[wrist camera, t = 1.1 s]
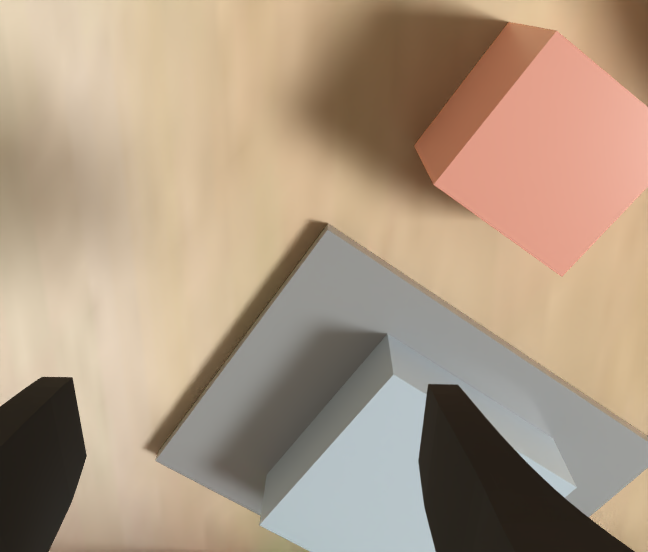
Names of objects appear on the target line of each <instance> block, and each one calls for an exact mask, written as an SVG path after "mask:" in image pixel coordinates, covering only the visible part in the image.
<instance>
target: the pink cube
mask: <svg viewBox="0 0 648 552" xmlns="http://www.w3.org/2000/svg"><path fill="white" fill-rule="evenodd" d="M414 147H415V149H416V151H417V153H418V155H419V157H420V159H421V161H422V163H423V165H424V167H425V169H426V171H427V173H428V175H429V177H430V179H431V181H432V183H433V185H435V186H436V187H437V188H439V189H440V190H442V191H443V192H444V193H446V194H447V195H449V196H450V197H451V198H453V199H454V200H456V201H457V202H458V203H460V204H461V205H463V206H464V207H465V208H467V209H468V210H470V211H471V212H472V213H474V214H475V215H476V216H478V217H479V218H481V219H482V220H483V221H485V222H486V223H488V224H489V225H490V226H492V227H493V228H495V229H496V230H497V231H499V232H500V233H502V234H503V235H504V236H506V237H507V238H509V239H510V240H511V241H513V242H514V243H516V244H517V245H518V246H520V247H521V248H522V249H524V250H525V251H527V252H528V253H529V254H531V255H532V256H534V257H535V258H536V259H538V260H539V261H541V262H542V263H543V264H545V265H546V266H548V267H549V268H550V269H552V270H553V271H555V272H556V273H557V274H559V275H560V276H563V275H564V274H565V273H566V272H567V271H568V270H569V269H570V268H571V267H572V266H573V265H574V263H575V262H576V261H577V260H578V259H579V258H580V257H581V256H582V255H583V254H584V253H585V252H586V251H587V250H588V249H589V248H590V247H591V246H592V245H593V244H594V243H595V242H596V240H597V239H598V238H599V237H600V236H601V235H602V234H603V233H604V232H605V231H606V230H607V229H608V228H609V227H610V226H611V225H612V224H613V223H614V222H615V221H616V220H617V218H618V217H619V216H620V215H621V214H622V213H623V212H624V211H625V210H626V209H627V208H628V207H629V206H630V205H631V204H632V203H633V202H634V201H635V200H636V199H637V198H638V196H639V195H640V194H641V193H642V192H643V191H644V190H645V189H646V188H647V187H648V107H647V106H646V105H645V104H644V103H642V102H641V101H640V100H639V99H638V98H637V97H635V96H634V95H633V94H632V93H631V92H629V91H628V90H627V89H626V88H625V87H623V86H622V85H621V84H620V83H619V82H617V81H616V80H615V79H614V78H613V77H611V76H610V75H609V74H608V73H607V72H605V71H604V70H603V69H602V68H601V67H599V66H598V65H597V64H596V63H595V62H594V61H592V60H591V59H590V58H589V57H588V56H586V55H585V54H584V53H583V52H582V51H580V50H579V49H578V48H577V47H576V46H574V45H573V44H572V43H571V42H570V41H568V40H567V39H566V38H565V37H564V36H562V35H561V34H560V33H559V32H558V31H555V30H550V29H544V28H539V27H533V26H528V25H522V24H517V23H511V22H508V23H507V25H506V26H505V27H504V29H503V30H502V31H501V32H500V34H499V35H498V36H497V38H496V39H495V40H494V42H493V43H492V44H491V46H490V47H489V48H488V49H487V51H486V52H485V53H484V55H483V56H482V57H481V59H480V60H479V61H478V63H477V64H476V65H475V66H474V68H473V69H472V70H471V72H470V73H469V74H468V76H467V77H466V78H465V80H464V81H463V82H462V83H461V85H460V86H459V87H458V89H457V90H456V91H455V93H454V94H453V95H452V97H451V98H450V99H449V100H448V102H447V103H446V104H445V106H444V107H443V108H442V110H441V111H440V112H439V114H438V115H437V116H436V117H435V119H434V120H433V121H432V123H431V124H430V125H429V127H428V128H427V129H426V131H425V132H424V133H423V134H422V136H421V137H420V138H419V140H418V141H417V142H416V144H415V145H414Z"/></svg>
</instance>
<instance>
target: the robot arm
mask: <svg viewBox="0 0 648 552" xmlns="http://www.w3.org/2000/svg"><path fill="white" fill-rule="evenodd" d="M85 459H86V450H85V445H84V439H83V434H82V428H81V422H80V417H79V411H78V406H77V400H76V395H75V389H74V384H73V378H72V377H41V378H40V379H38V380H37V381H35V382H34V383H32V384H31V385H29V386H28V387H26V388H25V389H24V390H22V391H21V392H20V393H18V394H17V395H15V396H14V397H13V398H11V399H10V400H9V401H7V402H6V403H5V404H3V405H2V406H1V407H0V552H48V551H49V549H50V547H51V545H52V543H53V541H54V539H55V537H56V534H57V532H58V530H59V528H60V526H61V524H62V522H63V520H64V518H65V515H66V513H67V511H68V509H69V507H70V505H71V502H72V500H73V497H74V494H75V491H76V488H77V485H78V482H79V479H80V476H81V472H82V469H83V466H84V463H85ZM418 463H419V471H420V479H421V487H422V494H423V501H424V508H425V512H426V516H427V520H428V524H429V528H430V532H431V536H432V539H433V543H434V547H435V551H436V552H634V551H633V550H632V549H630V548H629V547H627V546H626V545H625V544H623V543H622V542H620V541H619V540H618V539H616V538H615V537H613V536H612V535H610V534H609V533H608V532H607V531H605V530H604V529H603V528H601V527H600V526H599V525H597V524H596V523H595V522H593V521H592V520H591V519H590V518H589V517H587V516H586V515H585V514H584V513H582V512H581V511H580V510H579V509H578V508H576V507H575V506H574V505H573V504H571V503H570V502H569V501H568V500H567V499H565V498H564V497H563V496H562V495H561V494H560V493H559V492H558V491H556V490H555V489H554V488H553V487H552V486H551V485H550V484H549V483H548V482H547V481H546V480H545V479H543V478H542V477H541V476H540V475H539V474H538V473H537V472H536V471H535V470H534V469H533V468H532V467H531V466H530V465H529V464H528V463H527V462H526V461H525V460H524V459H523V458H522V457H521V456H520V455H519V454H518V452H517V451H516V450H515V449H514V448H513V447H512V446H511V445H510V444H509V443H508V442H507V441H506V440H505V439H504V437H503V436H502V435H501V434H500V433H499V432H498V431H497V430H496V428H495V427H494V426H493V425H492V424H491V423H490V422H489V420H488V419H487V418H486V417H485V416H484V415H483V413H482V412H481V411H480V410H479V409H478V407H477V406H476V405H475V404H474V403H473V402H472V400H471V399H470V398H469V397H468V396H467V394H466V393H465V392H464V391H463V390H462V389H461V387H460V386H459V385H458V384H428V388H427V396H426V404H425V412H424V420H423V427H422V435H421V443H420V451H419V459H418Z"/></svg>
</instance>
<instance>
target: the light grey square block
mask: <svg viewBox="0 0 648 552" xmlns="http://www.w3.org/2000/svg"><path fill="white" fill-rule="evenodd" d="M428 384H458V385H459V386H460V387H461V389H462V390H463V391H464V392H465V393H466V394H467V396H468V397H469V398H470V399H471V400H472V402H473V403H474V404H475V405H476V406H477V407H478V409H479V410H480V411H481V412H482V413H483V415H484V416H485V417H486V418H487V419H488V420H489V422H490V423H491V424H492V425H493V426H494V427H495V428H496V430H497V431H498V432H499V433H500V434H501V435H502V436H503V437H504V439H505V440H506V441H507V442H508V443H509V444H510V445H511V446H512V447H513V448H514V449H515V450H516V451H517V452H518V454H519V455H520V456H521V457H522V458H523V459H524V460H525V461H526V462H527V463H528V464H529V465H530V466H531V467H532V468H533V469H534V470H535V471H536V472H537V473H538V474H539V475H540V476H541V477H542V478H543V479H545V480H546V481H547V482H548V483H549V484H550V485H551V486H552V487H553V488H554V489H555V490H556V491H558V492H559V493H560V494H561V495H562V496H563V497H564V498H565V497H566V496H567V495H569V494H570V493H571V492H572V491H573V490H574V489H575V488H577V487H576V485H575V483H574V481H573V479H572V477H571V475H570V472H569V470H568V468H567V466H566V464H565V462H564V460H563V458H562V456H561V454H560V452H559V450H558V448H557V446H556V444H555V442H554V439H553V438H551V437H550V436H548V435H547V434H545V433H544V432H542V431H540V430H539V429H537V428H536V427H534V426H533V425H531V424H529V423H528V422H526V421H525V420H523V419H521V418H520V417H518V416H517V415H515V414H514V413H512V412H510V411H509V410H507V409H506V408H504V407H503V406H501V405H499V404H498V403H496V402H495V401H493V400H492V399H490V398H488V397H487V396H485V395H484V394H482V393H480V392H479V391H477V390H476V389H474V388H473V387H471V386H469V385H468V384H466V383H465V382H463V381H462V380H460V379H458V378H457V377H455V376H454V375H452V374H450V373H449V372H447V371H446V370H444V369H443V368H441V367H439V366H438V365H436V364H435V363H433V362H432V361H430V360H428V359H427V358H425V357H424V356H422V355H420V354H419V353H417V352H416V351H414V350H413V349H411V348H409V347H408V346H406V345H405V344H403V343H402V342H400V341H398V340H397V339H395V338H394V337H392V336H390V335H389V334H387V335H386V336H385V337H384V338H383V339H382V341H381V342H380V343H379V344H378V345H377V346H376V348H375V349H374V350H373V351H372V352H371V353H370V355H369V356H368V357H367V358H366V359H365V360H364V362H363V363H362V364H361V365H360V366H359V367H358V369H357V370H356V371H355V372H354V373H353V374H352V376H351V377H350V378H349V379H348V380H347V381H346V383H345V384H344V385H343V386H342V387H341V388H340V390H339V391H338V392H337V393H336V394H335V395H334V397H333V398H332V399H331V400H330V401H329V403H328V404H327V405H326V406H325V407H324V408H323V410H322V411H321V412H320V413H319V414H318V415H317V417H316V418H315V419H314V420H313V421H312V422H311V424H310V425H309V426H308V427H307V428H306V429H305V431H304V432H303V433H302V434H301V435H300V436H299V438H298V439H297V440H296V441H295V442H294V443H293V445H292V446H291V447H290V448H289V449H288V450H287V452H286V453H285V454H284V455H283V456H282V457H281V459H280V460H279V461H278V462H277V463H276V464H275V466H274V467H273V468H272V469H271V470H270V471H269V473H268V474H267V476H266V483H265V489H264V496H263V503H262V510H261V517H260V524H259V525H260V526H262V527H264V528H265V529H267V530H269V531H271V532H273V533H275V534H277V535H279V536H281V537H283V538H285V539H287V540H289V541H291V542H293V543H294V544H296V545H298V546H300V547H302V548H304V549H306V550H308V551H310V552H436V551H435V547H434V543H433V539H432V536H431V532H430V528H429V524H428V520H427V516H426V512H425V508H424V501H423V494H422V487H421V479H420V471H419V463H418V459H419V451H420V443H421V435H422V427H423V420H424V412H425V404H426V396H427V388H428Z"/></svg>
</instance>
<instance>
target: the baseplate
mask: <svg viewBox="0 0 648 552" xmlns="http://www.w3.org/2000/svg"><path fill="white" fill-rule="evenodd" d="M387 334H389V335H390V336H392V337H394V338H395V339H397V340H398V341H400V342H402V343H403V344H405V345H406V346H408V347H409V348H411V349H413V350H414V351H416V352H417V353H419V354H420V355H422V356H424V357H425V358H427V359H428V360H430V361H432V362H433V363H435V364H436V365H438V366H439V367H441V368H443V369H444V370H446V371H447V372H449V373H450V374H452V375H454V376H455V377H457V378H458V379H460V380H462V381H463V382H465V383H466V384H468V385H469V386H471V387H473V388H474V389H476V390H477V391H479V392H480V393H482V394H484V395H485V396H487V397H488V398H490V399H492V400H493V401H495V402H496V403H498V404H499V405H501V406H503V407H504V408H506V409H507V410H509V411H510V412H512V413H514V414H515V415H517V416H518V417H520V418H521V419H523V420H525V421H526V422H528V423H529V424H531V425H533V426H534V427H536V428H537V429H539V430H540V431H542V432H544V433H545V434H547V435H548V436H550V437H551V438H553V439H554V442H555V444H556V446H557V448H558V450H559V452H560V454H561V456H562V458H563V460H564V462H565V464H566V466H567V468H568V470H569V472H570V475H571V477H572V479H573V481H574V483H575V485H576V487H577V488H575V489H574V490H573V491H572V492H571V493H570V494H569V495H567V496H566V497H565V499H567V500H568V501H569V502H570V503H571V504H573V505H574V506H575V507H576V508H578V509H579V510H580V511H581V512H582V513H584V514H585V515H586V516H587V517H590V516H591V515H592V514H593V513H594V512H596V511H597V510H598V509H599V508H600V507H601V506H603V505H604V504H605V503H606V502H607V501H609V500H610V499H611V498H612V497H613V496H615V495H616V494H617V493H618V492H619V491H621V490H622V489H623V488H624V487H625V486H626V485H628V484H629V483H630V482H631V481H632V480H634V479H635V478H636V477H637V476H638V475H640V474H641V473H642V472H643V471H644V470H646V469H647V468H648V436H647V435H645V434H644V433H642V432H641V431H639V430H638V429H636V428H635V427H633V426H632V425H630V424H629V423H627V422H626V421H624V420H623V419H621V418H620V417H618V416H617V415H615V414H614V413H612V412H611V411H609V410H608V409H606V408H605V407H603V406H602V405H600V404H598V403H597V402H595V401H594V400H592V399H591V398H589V397H588V396H586V395H585V394H583V393H582V392H580V391H579V390H577V389H576V388H574V387H573V386H571V385H570V384H568V383H567V382H565V381H564V380H562V379H561V378H559V377H558V376H556V375H555V374H553V373H552V372H550V371H549V370H547V369H546V368H544V367H543V366H541V365H540V364H538V363H537V362H535V361H534V360H532V359H531V358H529V357H528V356H526V355H525V354H523V353H522V352H520V351H519V350H517V349H516V348H514V347H513V346H511V345H510V344H508V343H507V342H505V341H504V340H502V339H501V338H499V337H498V336H496V335H495V334H493V333H492V332H490V331H489V330H487V329H486V328H484V327H483V326H481V325H480V324H478V323H477V322H475V321H474V320H472V319H471V318H469V317H468V316H466V315H465V314H463V313H462V312H460V311H459V310H457V309H456V308H454V307H453V306H451V305H450V304H448V303H447V302H445V301H444V300H442V299H441V298H439V297H438V296H436V295H435V294H433V293H432V292H430V291H429V290H427V289H426V288H424V287H423V286H421V285H420V284H418V283H417V282H415V281H414V280H412V279H411V278H409V277H408V276H406V275H405V274H403V273H402V272H400V271H399V270H397V269H396V268H394V267H393V266H391V265H390V264H388V263H387V262H385V261H384V260H382V259H381V258H379V257H378V256H376V255H375V254H373V253H372V252H370V251H369V250H367V249H366V248H364V247H363V246H361V245H360V244H358V243H357V242H355V241H354V240H352V239H351V238H349V237H348V236H346V235H345V234H343V233H342V232H340V231H339V230H337V229H336V228H334V227H333V226H331V225H330V224H327V226H326V227H325V228H324V230H323V231H322V232H321V234H320V235H319V236H318V238H317V239H316V240H315V242H314V243H313V244H312V246H311V247H310V248H309V250H308V251H307V252H306V254H305V255H304V256H303V258H302V259H301V261H300V262H299V263H298V265H297V266H296V267H295V269H294V270H293V271H292V273H291V274H290V275H289V277H288V278H287V279H286V281H285V282H284V283H283V285H282V286H281V287H280V289H279V290H278V291H277V293H276V294H275V296H274V297H273V298H272V300H271V301H270V302H269V304H268V305H267V306H266V308H265V309H264V310H263V312H262V313H261V314H260V316H259V317H258V318H257V320H256V321H255V322H254V324H253V325H252V326H251V328H250V329H249V330H248V332H247V333H246V335H245V336H244V337H243V339H242V340H241V341H240V343H239V344H238V345H237V347H236V348H235V349H234V351H233V352H232V353H231V355H230V356H229V357H228V359H227V360H226V361H225V363H224V364H223V365H222V367H221V368H220V369H219V371H218V372H217V374H216V375H215V376H214V378H213V379H212V380H211V382H210V383H209V384H208V386H207V387H206V388H205V390H204V391H203V392H202V394H201V395H200V396H199V398H198V399H197V400H196V402H195V403H194V404H193V406H192V407H191V408H190V410H189V411H188V413H187V414H186V415H185V417H184V418H183V419H182V421H181V422H180V423H179V425H178V426H177V427H176V429H175V430H174V431H173V433H172V434H171V435H170V437H169V438H168V439H167V441H166V442H165V443H164V445H163V446H162V448H161V449H160V450H159V452H158V455H157V458H156V460H155V461H157V462H159V463H160V464H162V465H164V466H166V467H168V468H170V469H172V470H174V471H176V472H178V473H180V474H182V475H184V476H185V477H187V478H189V479H191V480H193V481H195V482H197V483H199V484H201V485H203V486H205V487H207V488H208V489H210V490H212V491H214V492H216V493H218V494H220V495H222V496H224V497H226V498H228V499H230V500H231V501H233V502H235V503H237V504H239V505H241V506H243V507H245V508H247V509H249V510H251V511H253V512H254V513H256V514H258V515H260V516H261V510H262V503H263V496H264V489H265V483H266V476H267V474H268V473H269V471H270V470H271V469H272V468H273V467H274V466H275V464H276V463H277V462H278V461H279V460H280V459H281V457H282V456H283V455H284V454H285V453H286V452H287V450H288V449H289V448H290V447H291V446H292V445H293V443H294V442H295V441H296V440H297V439H298V438H299V436H300V435H301V434H302V433H303V432H304V431H305V429H306V428H307V427H308V426H309V425H310V424H311V422H312V421H313V420H314V419H315V418H316V417H317V415H318V414H319V413H320V412H321V411H322V410H323V408H324V407H325V406H326V405H327V404H328V403H329V401H330V400H331V399H332V398H333V397H334V395H335V394H336V393H337V392H338V391H339V390H340V388H341V387H342V386H343V385H344V384H345V383H346V381H347V380H348V379H349V378H350V377H351V376H352V374H353V373H354V372H355V371H356V370H357V369H358V367H359V366H360V365H361V364H362V363H363V362H364V360H365V359H366V358H367V357H368V356H369V355H370V353H371V352H372V351H373V350H374V349H375V348H376V346H377V345H378V344H379V343H380V342H381V341H382V339H383V338H384V337H385V336H386V335H387Z"/></svg>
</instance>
